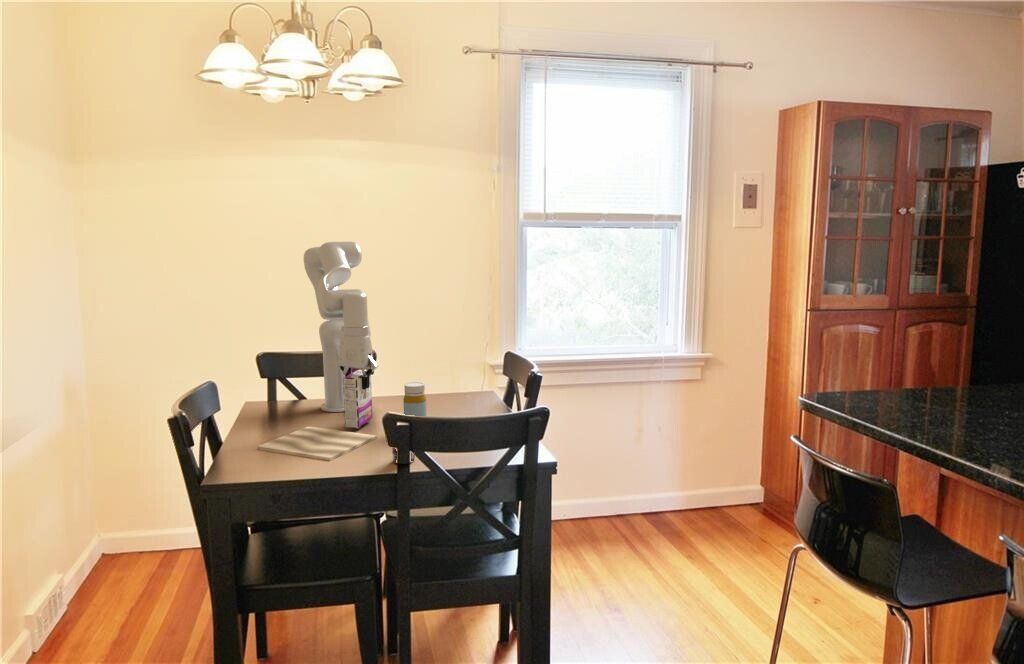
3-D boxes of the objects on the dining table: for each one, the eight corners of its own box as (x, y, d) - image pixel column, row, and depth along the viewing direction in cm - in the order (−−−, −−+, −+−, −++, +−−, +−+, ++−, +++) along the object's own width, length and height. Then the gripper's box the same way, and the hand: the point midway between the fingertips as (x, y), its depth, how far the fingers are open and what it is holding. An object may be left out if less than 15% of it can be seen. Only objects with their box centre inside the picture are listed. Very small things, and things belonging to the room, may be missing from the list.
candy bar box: (358, 417, 223) (357, 369, 220) (372, 418, 222) (371, 370, 219) (343, 427, 212) (342, 377, 210) (358, 428, 211) (357, 378, 209)
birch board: (308, 428, 215) (308, 426, 215) (376, 438, 205) (376, 435, 205) (257, 449, 195) (257, 446, 195) (330, 460, 185) (330, 457, 185)
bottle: (428, 427, 215) (427, 381, 213) (425, 434, 208) (423, 386, 206) (406, 427, 216) (405, 381, 213) (402, 434, 209) (401, 386, 206)
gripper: (326, 331, 212) (328, 387, 215) (371, 335, 206) (373, 393, 209) (340, 327, 219) (342, 382, 222) (385, 331, 212) (386, 387, 215)
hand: (357, 386), depth 215 cm, fingers closed on candy bar box, 5 cm apart
